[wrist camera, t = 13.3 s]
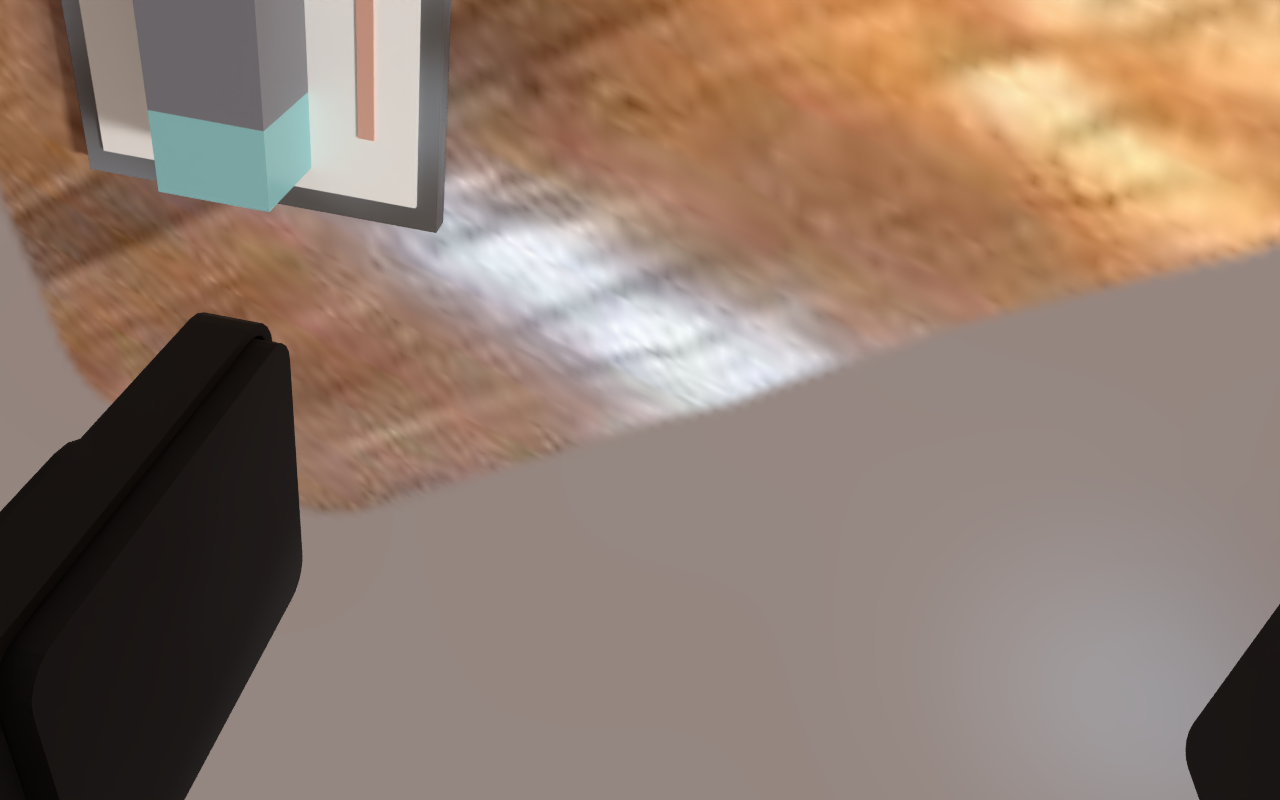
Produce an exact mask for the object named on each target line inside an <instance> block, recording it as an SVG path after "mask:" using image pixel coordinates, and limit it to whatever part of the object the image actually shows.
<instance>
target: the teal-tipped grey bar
mask: <svg viewBox="0 0 1280 800" xmlns="http://www.w3.org/2000/svg"><path fill="white" fill-rule="evenodd" d="M133 8H134V15H135V22H136V29H137V37H138V44H139V51H140V59H141V66H142V73H143V81H144V88H145V95H146V102H147V110H148V117H149V124H150V132H151V139H152V146H153V154H154V161H155V168H156V176H157V183H158V190H159V192H164V193H169V194H175V195H180V196H185V197H191V198H196V199H202V200H207V201H212V202H218V203H223V204H229V205H234V206H239V207H245V208H250V209H256V210H261V211H266V212H270V211H271V210H272V209H273V208H274V207H275V206H276V205H277V203H278V202H279V201H280V200H281V199H282V198H283V197H284V196H285V195H286V194H287V193H288V192H289V191H290V190H291V189H292V188H293V187H294V186H295V185H296V183H297V182H298V181H299V180H300V179H301V178H302V177H303V176H304V175H305V174H306V173H307V172H308V171H309V170H310V169H311V145H310V122H309V99H308V76H307V53H306V30H305V8H304V0H133Z"/></svg>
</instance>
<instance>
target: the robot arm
mask: <svg viewBox="0 0 1280 800" xmlns="http://www.w3.org/2000/svg"><path fill="white" fill-rule="evenodd" d="M301 567H302V542H301V526H300V510H299V495H298V479H297V463H296V447H295V432H294V416H293V400H292V384H291V369H290V357H289V351H288V349H287V347H286V346H285V345H284V344H282V343H276V342H272V337H271V333H270V331H269V329H268V327H267V326H265V325H264V324H263V323H257V322H252V321H247V320H241V319H236V318H231V317H225V316H220V315H215V314H209V313H197V314H196V315H195V316H193V317H192V318H191V319H190V320H189V321H188V322H187V323H186V324H185V325H184V326H183V327H182V328H181V329H180V330H179V332H178V333H177V334H176V335H175V336H174V337H173V338H172V339H171V340H170V341H169V342H168V344H167V345H166V346H165V347H164V348H163V349H162V350H161V351H160V352H159V353H158V354H157V356H156V357H155V358H154V359H153V360H152V361H151V362H150V363H149V364H148V365H147V366H146V368H145V369H144V370H143V371H142V372H141V373H140V374H139V375H138V376H137V377H136V379H135V380H134V381H133V382H132V383H131V384H130V385H129V386H128V387H127V388H126V389H125V391H124V392H123V393H122V394H121V395H120V396H119V397H118V398H117V399H116V400H115V401H114V403H113V404H112V405H111V406H110V407H109V408H108V409H107V410H106V411H105V412H104V413H103V415H102V416H101V417H100V418H99V419H98V420H97V421H96V422H95V423H94V424H93V425H92V427H91V428H90V429H89V430H88V431H87V432H86V433H85V434H84V435H83V436H82V438H81V439H78V440H75V441H72V442H69V443H67V444H66V445H65V446H63V447H62V448H61V449H60V450H58V451H57V452H56V453H55V454H54V455H53V456H52V457H51V458H50V459H49V460H48V461H47V462H46V463H45V464H44V465H43V467H41V469H40V470H39V471H38V472H37V473H36V474H35V475H34V476H33V477H32V478H31V479H30V480H29V481H28V483H27V484H26V485H25V486H24V487H23V488H22V489H21V490H20V491H19V492H18V493H17V495H16V496H15V497H14V498H13V499H12V500H11V501H10V502H9V503H8V504H7V505H6V506H5V507H4V508H3V509H2V511H1V512H0V800H184V799H185V798H186V796H187V794H188V792H189V790H190V788H191V786H192V784H193V782H194V781H195V779H196V777H197V775H198V773H199V771H200V770H201V768H202V766H203V764H204V762H205V760H206V758H207V756H208V755H209V753H210V751H211V749H212V747H213V745H214V743H215V742H216V740H217V738H218V736H219V734H220V732H221V730H222V728H223V727H224V724H225V723H226V721H227V719H228V717H229V715H230V713H231V711H232V710H233V708H234V706H235V704H236V702H237V700H238V698H239V697H240V695H241V693H242V691H243V689H244V687H245V685H246V683H247V682H248V680H249V678H250V676H251V674H252V672H253V670H254V669H255V667H256V665H257V663H258V661H259V659H260V657H261V655H262V653H263V652H264V650H265V648H266V646H267V644H268V642H269V640H270V638H271V637H272V635H273V633H274V631H275V629H276V627H277V625H278V624H279V622H280V620H281V618H282V616H283V614H284V612H285V610H286V608H287V607H288V605H289V603H290V601H291V599H292V597H293V595H294V593H295V591H296V588H297V585H298V582H299V578H300V574H301ZM1186 761H1187V765H1188V769H1189V771H1190V774H1191V777H1192V780H1193V783H1194V786H1195V789H1196V791H1197V794H1198V797H1199V799H1200V800H1280V604H1279V606H1278V607H1277V609H1276V610H1275V611H1274V613H1273V614H1272V616H1271V617H1270V619H1269V620H1268V621H1267V622H1266V624H1265V625H1264V627H1263V628H1262V629H1261V631H1260V632H1259V634H1258V635H1257V637H1256V638H1255V639H1254V640H1253V642H1252V643H1251V645H1250V646H1249V647H1248V649H1247V650H1246V652H1245V653H1244V654H1243V656H1242V657H1241V658H1240V660H1239V661H1238V663H1237V664H1236V665H1235V667H1234V668H1233V670H1232V671H1231V672H1230V674H1229V675H1228V677H1227V678H1226V679H1225V681H1224V682H1223V683H1222V685H1221V686H1220V687H1219V689H1218V690H1217V692H1216V693H1215V694H1214V696H1213V697H1212V698H1211V700H1210V701H1209V703H1208V704H1207V705H1206V707H1205V708H1204V710H1203V711H1202V712H1201V714H1200V715H1199V716H1198V718H1197V719H1196V721H1195V722H1194V723H1193V725H1192V727H1191V729H1190V731H1189V733H1188V737H1187V741H1186Z"/></svg>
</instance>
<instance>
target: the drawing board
mask: <svg viewBox="0 0 1280 800" xmlns="http://www.w3.org/2000/svg"><path fill="white" fill-rule="evenodd" d="M61 2H62V8H63V14H64V19H65V25H66V31H67V36H68V42H69V48H70V54H71V59H72V65H73V71H74V76H75V82H76V88H77V93H78V99H79V105H80V111H81V116H82V122H83V128H84V133H85V139H86V145H87V150H88V156H89V162H90V168H91V169H95V170H100V171H105V172H111V173H116V174H122V175H127V176H132V177H138V178H143V179H149V180H154V181H157V176H156V168H155V161H154V154H153V146H152V139H151V132H150V124H149V117H148V110H147V102H146V95H145V88H144V81H143V73H142V66H141V59H140V51H139V44H138V37H137V29H136V22H135V15H134V8H133V0H61ZM304 8H305V30H306V53H307V76H308V99H309V122H310V145H311V169H310V170H309V171H308V172H307V173H306V174H305V175H304V176H303V177H302V178H301V179H300V180H299V181H298V182H297V183H296V185H295V186H294V187H293V188H292V189H291V190H290V191H289V192H288V193H287V194H286V195H285V196H284V197H283V198H282V199H281V200H280V201H279V202H278V204H283V205H289V206H294V207H299V208H305V209H310V210H316V211H321V212H326V213H332V214H337V215H342V216H348V217H353V218H359V219H364V220H369V221H375V222H380V223H386V224H391V225H396V226H402V227H407V228H413V229H418V230H423V231H429V232H434V233H436V232H437V231H438V229H439V228H440V226H441V224H442V223H443V209H444V182H445V154H446V126H447V99H448V71H449V44H450V16H451V0H304Z"/></svg>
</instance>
